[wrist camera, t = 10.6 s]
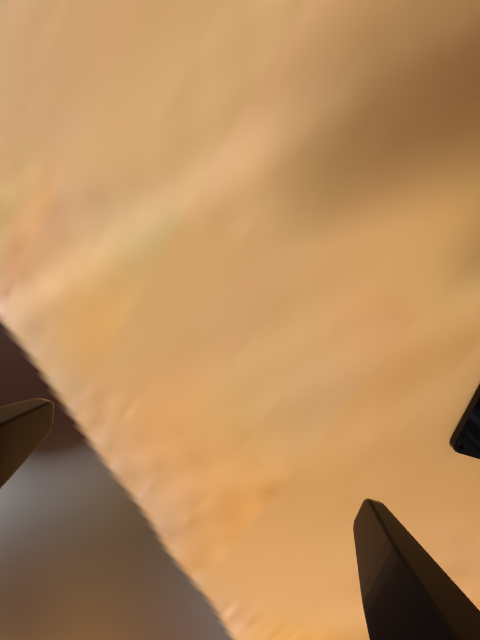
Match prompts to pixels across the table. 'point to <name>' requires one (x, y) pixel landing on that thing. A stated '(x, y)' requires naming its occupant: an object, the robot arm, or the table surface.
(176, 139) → the table surface
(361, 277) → the table surface
